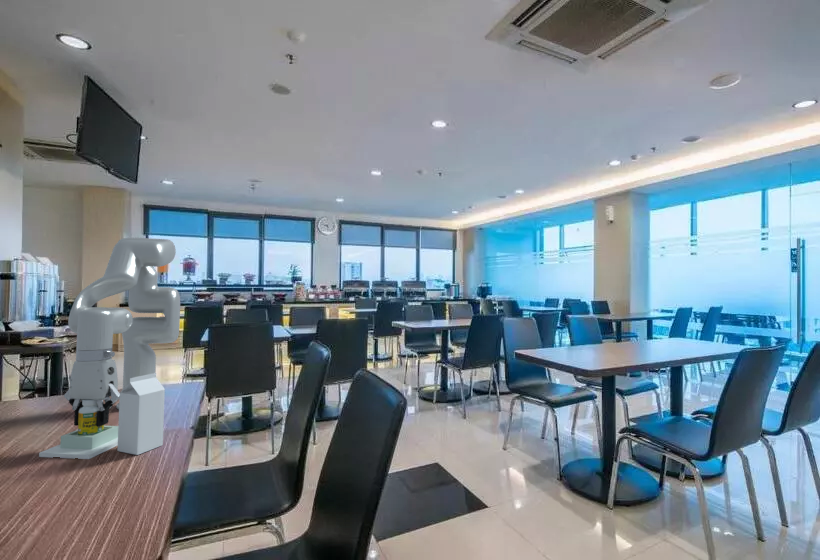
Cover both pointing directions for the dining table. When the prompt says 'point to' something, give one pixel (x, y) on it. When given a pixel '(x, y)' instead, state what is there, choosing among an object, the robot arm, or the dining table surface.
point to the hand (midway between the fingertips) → (91, 423)
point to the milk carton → (141, 415)
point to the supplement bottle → (88, 419)
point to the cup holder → (84, 444)
